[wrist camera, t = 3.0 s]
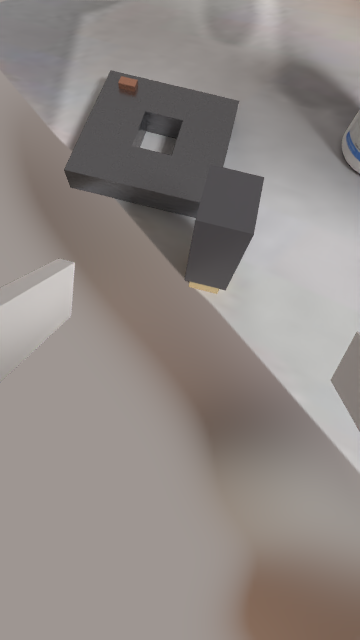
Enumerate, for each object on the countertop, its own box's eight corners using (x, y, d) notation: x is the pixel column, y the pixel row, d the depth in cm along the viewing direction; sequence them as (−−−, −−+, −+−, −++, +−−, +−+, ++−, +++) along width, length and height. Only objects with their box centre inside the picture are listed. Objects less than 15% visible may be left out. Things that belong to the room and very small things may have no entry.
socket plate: (234, 120, 39) (240, 95, 36) (209, 221, 34) (214, 201, 31) (113, 91, 39) (110, 64, 36) (70, 187, 34) (62, 165, 31)
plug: (229, 257, 33) (264, 177, 22) (220, 299, 31) (253, 234, 20) (193, 248, 33) (210, 164, 22) (182, 290, 31) (195, 220, 20)
